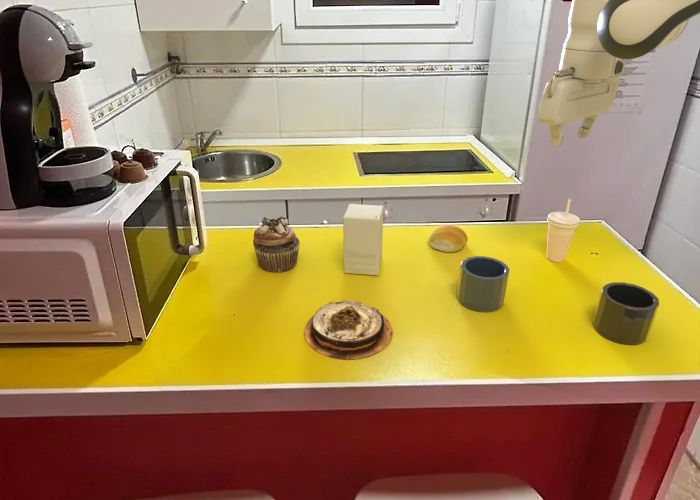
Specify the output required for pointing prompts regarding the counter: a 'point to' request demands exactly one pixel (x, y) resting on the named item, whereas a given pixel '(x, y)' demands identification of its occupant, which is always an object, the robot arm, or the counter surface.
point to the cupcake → (276, 245)
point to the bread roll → (448, 238)
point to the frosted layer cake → (348, 330)
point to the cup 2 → (625, 313)
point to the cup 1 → (482, 283)
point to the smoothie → (560, 233)
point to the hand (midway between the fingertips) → (569, 140)
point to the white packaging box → (363, 239)
